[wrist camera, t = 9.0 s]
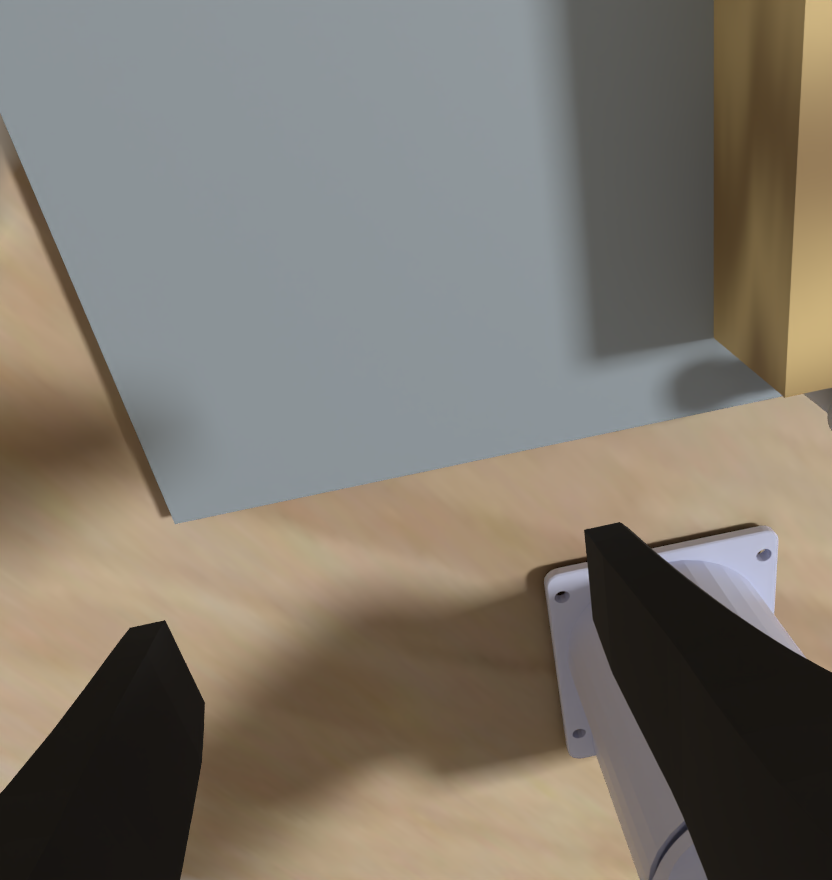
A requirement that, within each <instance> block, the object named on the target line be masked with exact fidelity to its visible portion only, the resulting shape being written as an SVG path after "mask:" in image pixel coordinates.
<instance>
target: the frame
mask: <svg viewBox="0 0 832 880" xmlns="http://www.w3.org/2000/svg"><path fill="white" fill-rule="evenodd" d="M714 339H715V340H717V341H718V342H719V343H720V344H721V345H723V346H724V347H725V348H726V349H727V350H729V351H730V352H731V353H732V354H733V355H735V356H736V357H737V358H738V359H739V360H741V361H742V362H743V363H744V364H745V365H746V366H748V367H749V368H750V369H751V370H752V371H754V372H755V373H756V374H757V375H758V376H760V377H761V378H762V379H763V380H764V381H766V382H767V383H768V384H769V385H770V386H772V387H773V388H774V389H775V390H776V391H778V392H779V393H780V394H781V395H782V396H784V397H790V396H795V395H800V394H804V393H809V392H814V391H818V390H823V389H828V388H832V0H714Z"/></svg>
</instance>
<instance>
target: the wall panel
mask: <svg viewBox="0 0 832 880" xmlns="http://www.w3.org/2000/svg"><path fill="white" fill-rule="evenodd" d="M0 114H1V116H2V118H3V121H4V123H5V125H6V128H7V130H8V132H9V135H10V137H11V140H12V142H13V144H14V147H15V149H16V151H17V154H18V156H19V158H20V161H21V163H22V165H23V168H24V170H25V172H26V175H27V177H28V180H29V182H30V184H31V187H32V189H33V191H34V194H35V196H36V198H37V201H38V203H39V205H40V208H41V210H42V212H43V215H44V217H45V219H46V222H47V224H48V227H49V229H50V231H51V234H52V236H53V238H54V241H55V243H56V245H57V248H58V250H59V252H60V255H61V257H62V259H63V262H64V264H65V267H66V269H67V271H68V274H69V276H70V278H71V281H72V283H73V285H74V288H75V290H76V292H77V295H78V297H79V299H80V302H81V304H82V306H83V309H84V311H85V314H86V316H87V318H88V321H89V323H90V325H91V328H92V330H93V332H94V335H95V337H96V339H97V342H98V344H99V346H100V349H101V351H102V354H103V356H104V358H105V361H106V363H107V365H108V368H109V370H110V372H111V375H112V377H113V379H114V382H115V384H116V386H117V389H118V391H119V393H120V396H121V398H122V401H123V403H124V405H125V408H126V410H127V412H128V415H129V417H130V419H131V422H132V424H133V426H134V429H135V431H136V433H137V436H138V438H139V441H140V443H141V445H142V448H143V450H144V452H145V455H146V457H147V459H148V462H149V464H150V466H151V469H152V471H153V473H154V476H155V478H156V480H157V483H158V485H159V488H160V490H161V492H162V495H163V497H164V499H165V502H166V504H167V506H168V509H169V511H170V513H171V516H172V518H173V520H174V523H175V524H177V523H182V522H187V521H192V520H196V519H201V518H206V517H211V516H215V515H220V514H225V513H230V512H234V511H239V510H244V509H249V508H253V507H258V506H263V505H268V504H272V503H277V502H282V501H287V500H291V499H296V498H301V497H306V496H310V495H315V494H320V493H325V492H329V491H334V490H339V489H344V488H348V487H353V486H358V485H363V484H368V483H372V482H377V481H382V480H387V479H391V478H396V477H401V476H406V475H410V474H415V473H420V472H425V471H429V470H434V469H439V468H444V467H448V466H453V465H458V464H463V463H467V462H472V461H477V460H482V459H486V458H491V457H496V456H501V455H505V454H510V453H515V452H520V451H524V450H529V449H534V448H539V447H543V446H548V445H553V444H558V443H562V442H567V441H572V440H577V439H581V438H586V437H591V436H596V435H600V434H605V433H610V432H615V431H619V430H624V429H629V428H634V427H638V426H643V425H648V424H653V423H657V422H662V421H667V420H672V419H676V418H681V417H686V416H691V415H695V414H700V413H705V412H710V411H714V410H719V409H724V408H729V407H733V406H738V405H743V404H748V403H752V402H757V401H762V400H767V399H771V398H776V397H781V396H782V395H781V394H780V393H779V392H778V391H776V390H775V389H774V388H773V387H772V386H770V385H769V384H768V383H767V382H766V381H764V380H763V379H762V378H761V377H760V376H758V375H757V374H756V373H755V372H754V371H752V370H751V369H750V368H749V367H748V366H746V365H745V364H744V363H743V362H742V361H741V360H739V359H738V358H737V357H736V356H735V355H733V354H732V353H731V352H730V351H729V350H727V349H726V348H725V347H724V346H723V345H721V344H720V343H719V342H718V341H717V340H715V339H714V0H0ZM804 395H805V396H807V397H808V398H809V399H810V400H812V401H813V402H814V403H815V404H817V405H818V406H819V407H821V408H822V409H823V410H824V411H826V412H827V413H828V424H829V427H830V429H831V430H832V388H828V389H823V390H818V391H814V392H809V393H804Z"/></svg>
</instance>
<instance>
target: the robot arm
mask: <svg viewBox="0 0 832 880" xmlns="http://www.w3.org/2000/svg"><path fill="white" fill-rule="evenodd" d="M584 532H585V543H586V554H587V562H584V563H579V564H575V565H570V566H565V567H560V568H556V569H553V570H551V571H550V572H549V573H547V575H546V576H545V578H544V586H545V593H546V601H547V608H548V615H549V623H550V630H551V637H552V645H553V652H554V659H555V666H556V674H557V681H558V688H559V696H560V703H561V710H562V717H563V725H564V732H565V739H566V746H567V749H568V752H569V755H570V756H572V757H574V758H585V757H590V756H595V755H596V756H597V759H598V762H599V765H600V768H601V770H602V773H603V776H604V779H605V782H606V785H607V787H608V790H609V793H610V796H611V799H612V802H613V804H614V807H615V810H616V813H617V816H618V819H619V822H620V824H621V827H622V830H623V833H624V836H625V839H626V841H627V844H628V847H629V850H630V853H631V856H632V858H633V861H634V864H635V867H636V870H637V873H638V875H639V878H640V880H832V672H830V671H828V670H826V669H824V668H822V667H820V666H818V665H817V664H815V663H813V662H811V661H810V660H808V659H806V657H805V656H804V655H803V653H802V652H801V650H800V649H799V648H798V646H797V645H796V644H795V642H794V641H793V640H792V638H791V637H790V636H789V634H788V633H787V632H786V630H785V629H784V627H783V626H782V625H781V623H780V622H779V621H778V619H777V618H776V617H775V615H774V607H775V590H776V572H777V555H778V536H777V534H776V533H775V532H774V531H773V530H772V529H771V528H770V527H768V526H757V527H752V528H747V529H743V530H738V531H733V532H728V533H723V534H719V535H714V536H709V537H704V538H699V539H695V540H690V541H685V542H680V543H675V544H671V545H666V546H661V547H656V548H650V547H649V546H648V545H647V544H646V543H645V542H643V541H642V540H641V539H640V538H639V537H638V536H637V535H636V534H634V533H633V532H632V531H631V530H630V529H629V528H628V527H626V526H625V525H623V524H622V523H620V522H618V523H614V524H609V525H605V526H600V527H595V528H591V529H586V530H584ZM763 549H765V550H764V551H763V552H762V553H760V554H757V553H758V552H760V551H761V550H763ZM561 591H566V592H565V593H564V594H562V595H556V594H557V593H559V592H561ZM204 710H205V702H204V700H203V698H202V696H201V694H200V692H199V690H198V688H197V686H196V684H195V681H194V679H193V677H192V675H191V673H190V671H189V669H188V667H187V665H186V663H185V661H184V659H183V656H182V654H181V652H180V650H179V648H178V646H177V644H176V642H175V640H174V638H173V636H172V634H171V631H170V629H169V627H168V625H167V623H166V621H165V620H164V621H160V622H155V623H150V624H146V625H141V626H137V627H132V628H130V629H129V630H128V631H127V632H126V634H125V635H124V636H123V637H122V639H121V640H120V641H119V643H118V644H117V645H116V647H115V648H114V649H113V651H112V652H111V653H110V655H109V656H108V657H107V659H106V660H105V661H104V663H103V664H102V666H101V667H100V668H99V670H98V671H97V672H96V674H95V675H94V676H93V678H92V679H91V680H90V682H89V683H88V685H87V686H86V687H85V689H84V690H83V691H82V693H81V694H80V695H79V697H78V698H77V699H76V700H75V702H74V703H73V704H72V706H71V707H70V708H69V710H68V711H67V712H66V714H65V715H64V716H63V718H62V719H61V720H60V722H59V723H58V724H57V726H56V727H55V728H54V729H53V731H52V732H51V733H50V734H49V736H48V737H47V738H46V739H45V741H44V742H43V743H42V744H41V745H40V747H39V748H38V749H37V750H36V751H35V753H34V754H33V755H32V756H31V758H30V759H29V760H28V761H27V762H26V764H25V765H24V766H23V767H22V768H21V770H20V771H19V772H18V773H17V775H16V776H15V777H14V778H13V779H12V781H11V782H10V783H9V784H8V785H7V787H6V788H5V789H4V790H3V791H2V792H1V793H0V880H180V878H181V872H182V867H183V862H184V856H185V851H186V846H187V840H188V835H189V830H190V824H191V819H192V814H193V808H194V803H195V797H196V791H197V786H198V780H199V775H200V769H201V763H202V750H203V735H204ZM577 729H578V730H577Z"/></svg>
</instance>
